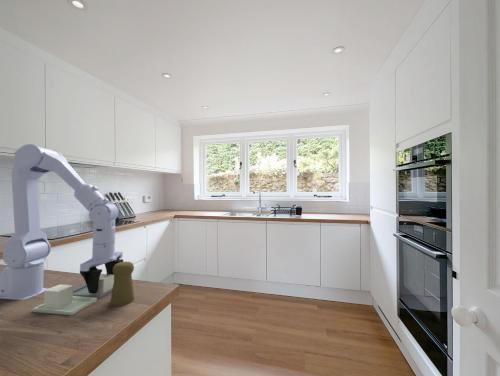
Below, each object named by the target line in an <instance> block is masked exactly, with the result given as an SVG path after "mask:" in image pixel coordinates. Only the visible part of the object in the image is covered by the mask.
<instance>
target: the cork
mask: <svg viewBox="0 0 500 376" xmlns="http://www.w3.org/2000/svg"><path fill="white" fill-rule="evenodd" d="M134 270H135V266H134V264H133V262H132V261H123V262H120V263H117V264H115V265H114V267H113V274H114V275H115V278H114V284H113V290H112V293H111V295H110V296H111V297H110V302H109V303H110V304H109V305H111V306H113V307H115V306H116V307H119V306H120V307H121V306H126V305H129V304H131V303H133V302H134V301H135V294H134V293H135V291H134V286H133V276H132V275H133V272H134Z"/></svg>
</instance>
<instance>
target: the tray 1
mask: <svg viewBox="0 0 500 376" xmlns="http://www.w3.org/2000/svg"><path fill="white" fill-rule="evenodd" d="M97 301H98V299H97V298H92V297H79V296H73V302H72V303H70V304H68V305H66V306H64V307H62V308H60V309H47V308H44V303H42V304H40V305H37V306H35V307H33V308H32V309H31V310H32V313H33V312H34V313H43V314H44V313H45V314H53V315H54V314H55V315H66V316H72V315H74V314H76V313H78V312H79V311H81V310H83V309H85V308H86V307H88V306H90V305H92V304H94V303H95V302H97Z"/></svg>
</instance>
